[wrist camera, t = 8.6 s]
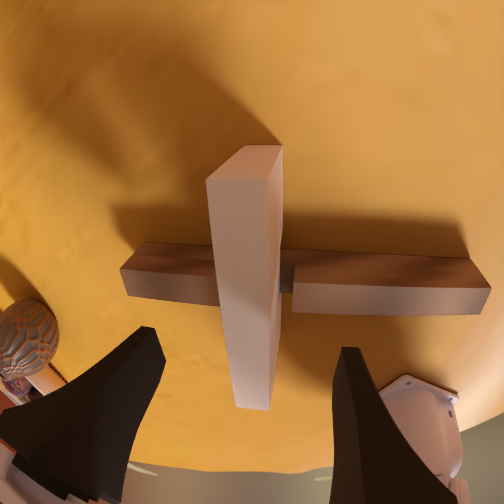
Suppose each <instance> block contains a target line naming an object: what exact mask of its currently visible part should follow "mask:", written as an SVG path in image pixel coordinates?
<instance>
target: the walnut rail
mask: <svg viewBox="0 0 504 504" xmlns="http://www.w3.org/2000/svg"><path fill="white" fill-rule="evenodd" d="M120 273H121V276H122V279H123V282H124V285H125V288H126V291H127V294H128V296H135V297H142V298H149V299H157V300H165V301H173V302H182V303H191V304H200V305H209V306H220V301H219V293H218V285H217V278H216V270H215V261H214V253H213V246H210V245H189V244H166V243H143V244H142V245H141V246H140V247H139V248H138V249H137V250H136V251H135V253H134V254H133V255H132V256H131V257H130V258H129V259H128V260H127V261H126V262H125V263H124V264H123V266H122V267H121V268H120ZM491 289H492V288H491V286H490V285H489V283H488V282H487V281H486V279H485V278H484V276H483V275H482V274H481V272H480V271H479V269H478V268H477V267H476V265H475V264H474V263H473V261H472V260H471V259H464V258H446V257H428V256H410V255H391V254H372V253H353V252H334V251H314V250H294V249H280V293H293V301H292V312H297V313H315V314H338V315H373V316H442V315H474V314H480V313H481V311H482V309H483V307H484V305H485V303H486V300H487V298H488V296H489V294H490V291H491Z"/></svg>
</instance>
